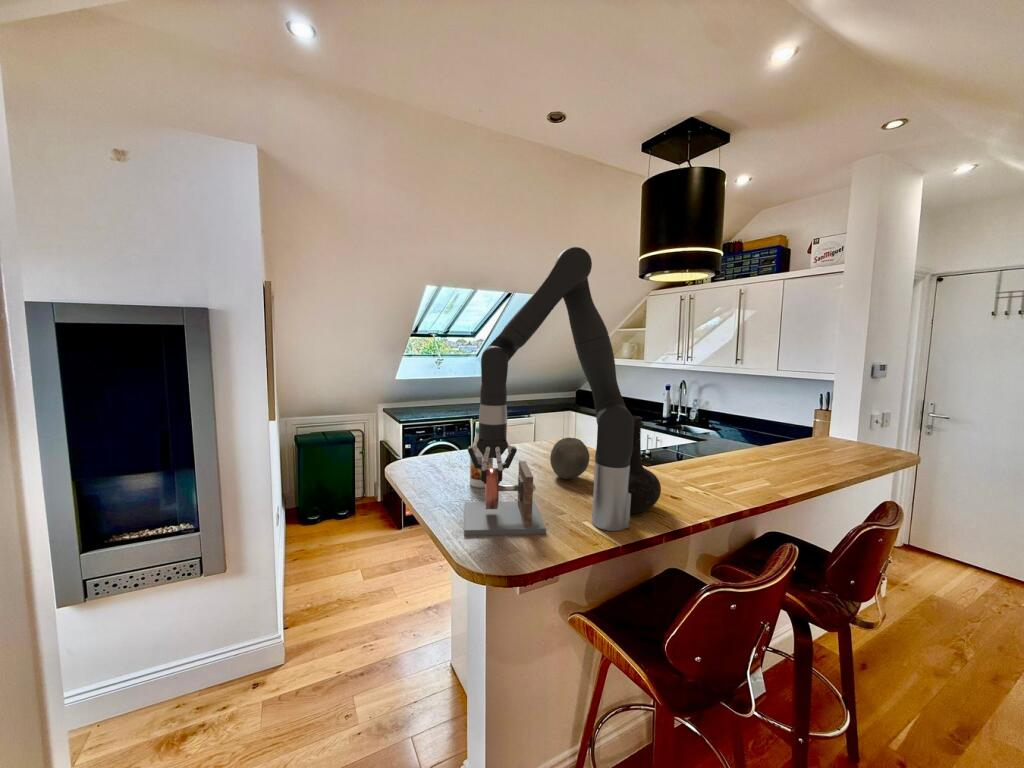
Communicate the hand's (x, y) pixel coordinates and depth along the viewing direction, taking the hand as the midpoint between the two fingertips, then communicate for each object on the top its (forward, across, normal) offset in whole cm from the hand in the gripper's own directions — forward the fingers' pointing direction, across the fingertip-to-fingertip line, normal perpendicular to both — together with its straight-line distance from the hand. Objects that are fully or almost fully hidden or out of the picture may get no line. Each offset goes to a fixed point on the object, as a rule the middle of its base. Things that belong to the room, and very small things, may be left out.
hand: (491, 482), depth 113 cm
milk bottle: (+11, +2, -28) cm, 30 cm away
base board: (+11, -3, 0) cm, 11 cm away
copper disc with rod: (+7, -5, 0) cm, 9 cm away
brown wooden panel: (+9, -9, 0) cm, 13 cm away
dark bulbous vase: (+11, -42, -7) cm, 44 cm away
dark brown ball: (+11, -30, -33) cm, 46 cm away
